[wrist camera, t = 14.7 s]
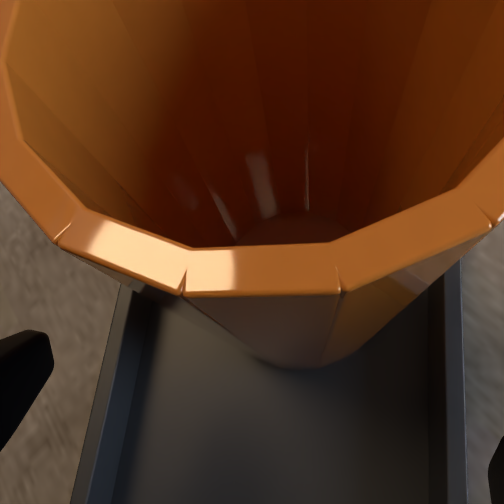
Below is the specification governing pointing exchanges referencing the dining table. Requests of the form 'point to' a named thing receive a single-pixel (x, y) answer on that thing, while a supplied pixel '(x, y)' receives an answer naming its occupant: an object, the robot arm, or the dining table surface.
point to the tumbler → (259, 154)
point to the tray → (278, 415)
